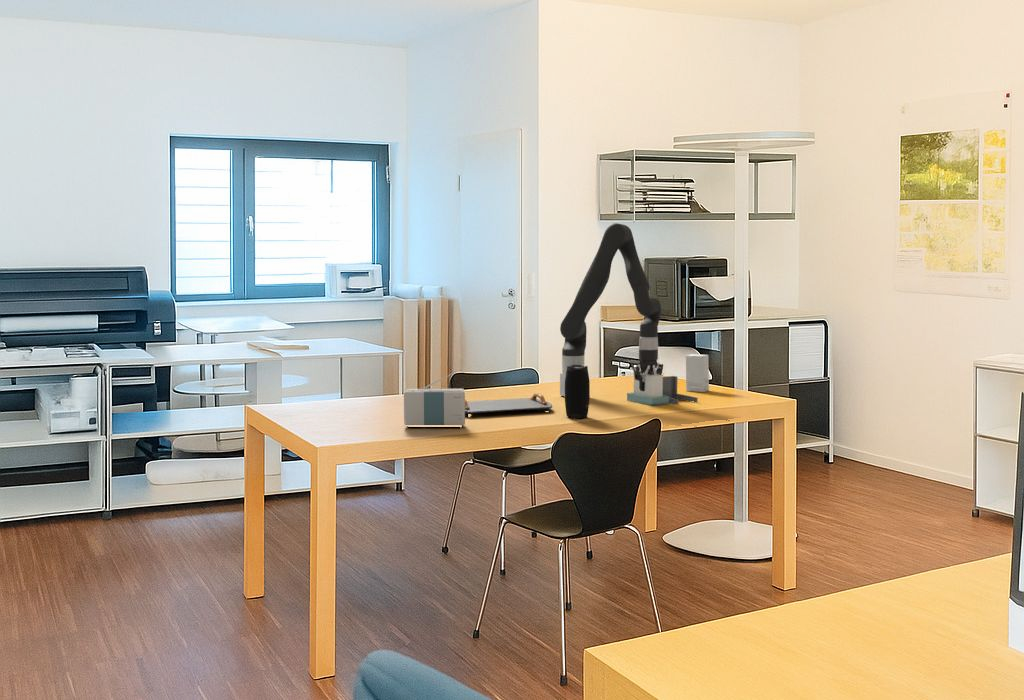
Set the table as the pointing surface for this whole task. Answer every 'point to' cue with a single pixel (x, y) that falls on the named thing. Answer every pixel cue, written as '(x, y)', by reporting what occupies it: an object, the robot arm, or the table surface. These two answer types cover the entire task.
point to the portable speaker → (577, 391)
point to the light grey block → (650, 385)
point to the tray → (648, 399)
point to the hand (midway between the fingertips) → (647, 390)
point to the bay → (674, 390)
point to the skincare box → (697, 373)
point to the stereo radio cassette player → (434, 406)
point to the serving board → (507, 405)
